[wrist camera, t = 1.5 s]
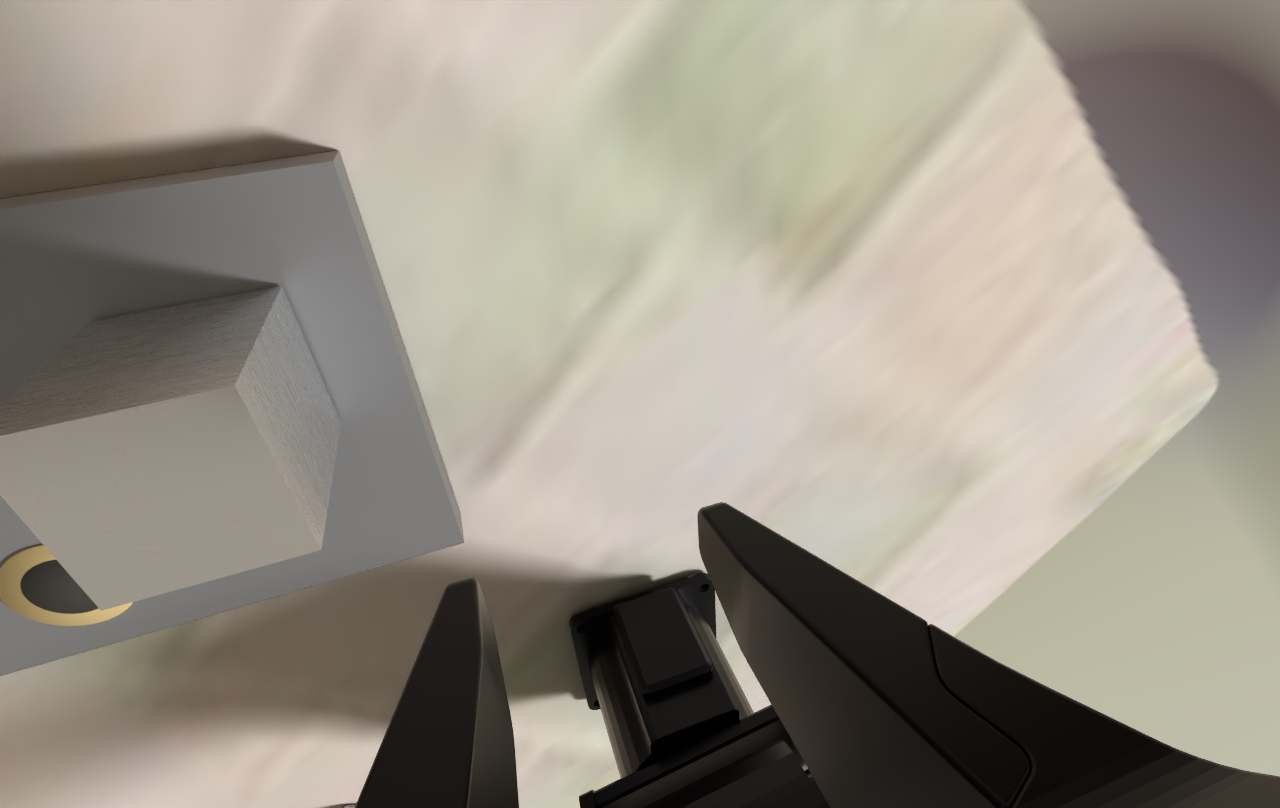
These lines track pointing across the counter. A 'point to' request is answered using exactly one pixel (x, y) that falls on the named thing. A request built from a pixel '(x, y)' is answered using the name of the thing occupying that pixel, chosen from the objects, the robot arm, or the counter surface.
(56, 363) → the slide leg
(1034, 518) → the counter surface
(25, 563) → the bolt plate
